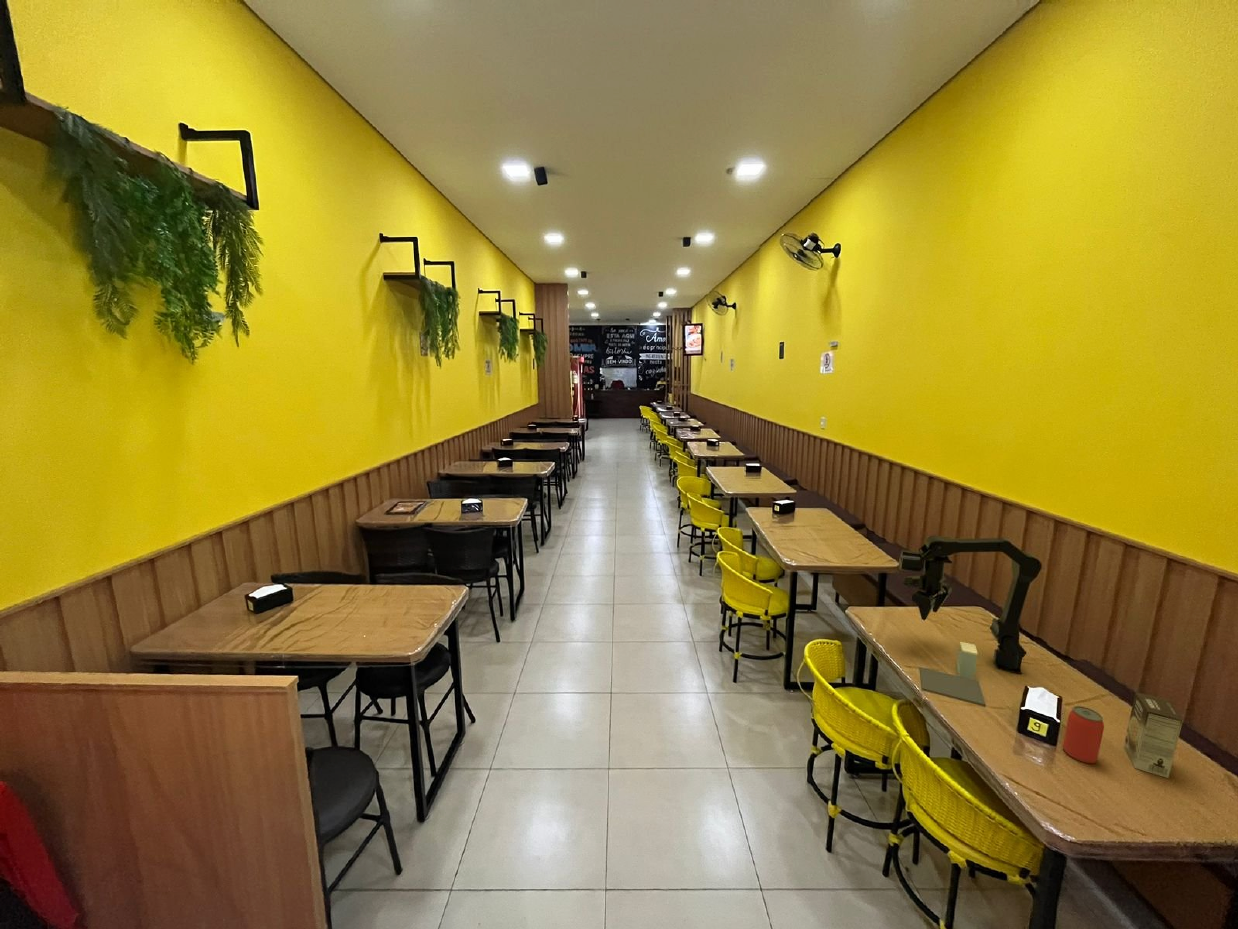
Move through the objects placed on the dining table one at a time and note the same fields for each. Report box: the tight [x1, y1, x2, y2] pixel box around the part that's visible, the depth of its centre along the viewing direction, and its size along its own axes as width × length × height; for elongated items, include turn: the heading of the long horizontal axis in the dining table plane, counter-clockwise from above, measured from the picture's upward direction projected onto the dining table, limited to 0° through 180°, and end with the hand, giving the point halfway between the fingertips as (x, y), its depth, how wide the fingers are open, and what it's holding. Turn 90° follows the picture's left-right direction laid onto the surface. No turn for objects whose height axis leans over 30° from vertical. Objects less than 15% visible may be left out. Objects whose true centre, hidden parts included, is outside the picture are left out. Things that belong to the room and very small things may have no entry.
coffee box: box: [1123, 692, 1184, 779], centre depth 123 cm, size 9×6×16 cm
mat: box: [919, 666, 987, 707], centre depth 154 cm, size 16×13×1 cm
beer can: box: [1062, 705, 1105, 764], centre depth 126 cm, size 7×7×12 cm
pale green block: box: [956, 641, 979, 680], centre depth 161 cm, size 4×6×9 cm, turn 152°
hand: (929, 615), depth 171 cm, fingers open, 9 cm apart
